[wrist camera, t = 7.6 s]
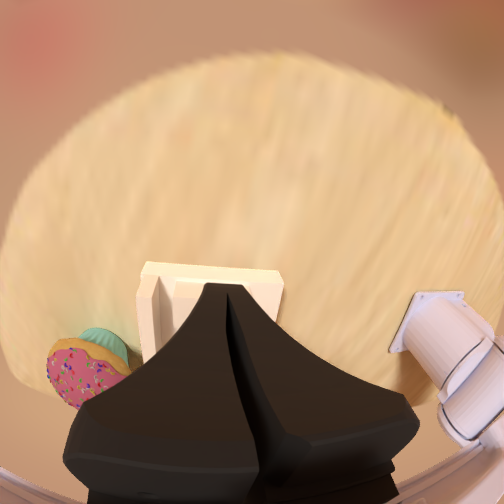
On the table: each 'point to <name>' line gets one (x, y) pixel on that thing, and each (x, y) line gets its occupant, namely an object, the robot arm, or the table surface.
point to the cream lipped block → (192, 296)
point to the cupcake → (87, 365)
